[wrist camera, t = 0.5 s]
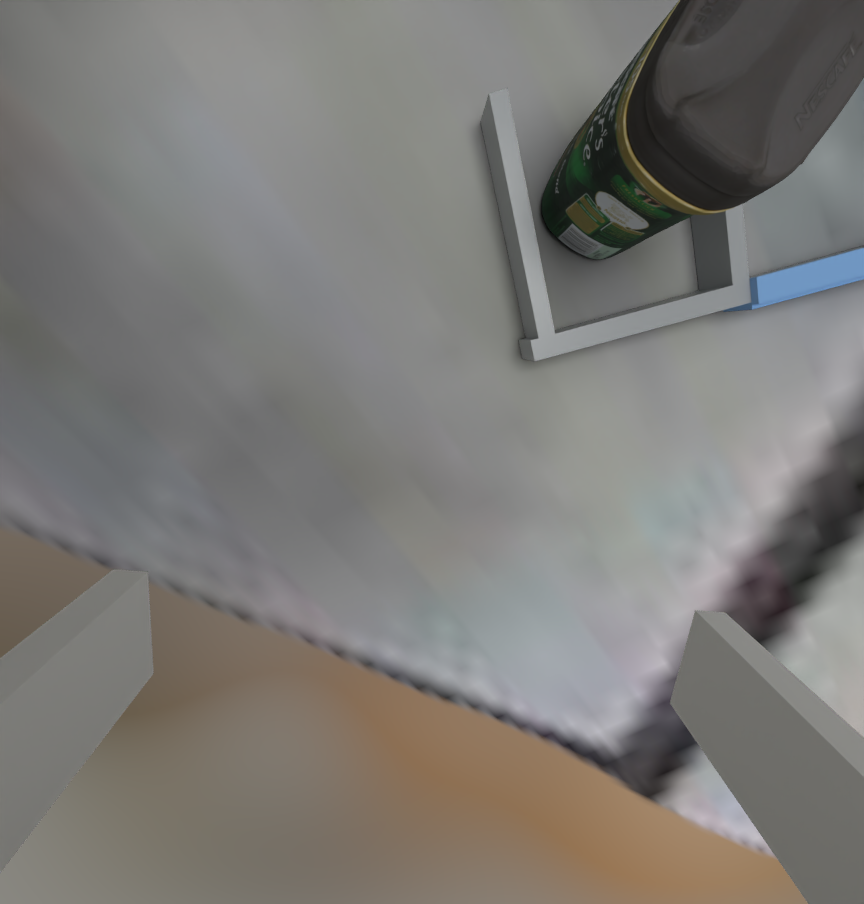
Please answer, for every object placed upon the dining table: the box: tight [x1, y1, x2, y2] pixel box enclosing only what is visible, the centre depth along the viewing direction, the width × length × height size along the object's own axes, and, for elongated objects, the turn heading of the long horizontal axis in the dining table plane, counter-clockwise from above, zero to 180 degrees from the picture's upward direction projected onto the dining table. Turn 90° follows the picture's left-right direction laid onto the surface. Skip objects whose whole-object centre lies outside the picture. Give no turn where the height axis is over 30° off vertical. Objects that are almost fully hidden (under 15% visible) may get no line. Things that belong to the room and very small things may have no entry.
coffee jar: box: [542, 0, 864, 259], centre depth 25 cm, size 10×8×19 cm
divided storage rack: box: [480, 88, 864, 361], centre depth 32 cm, size 18×30×5 cm, turn 105°
